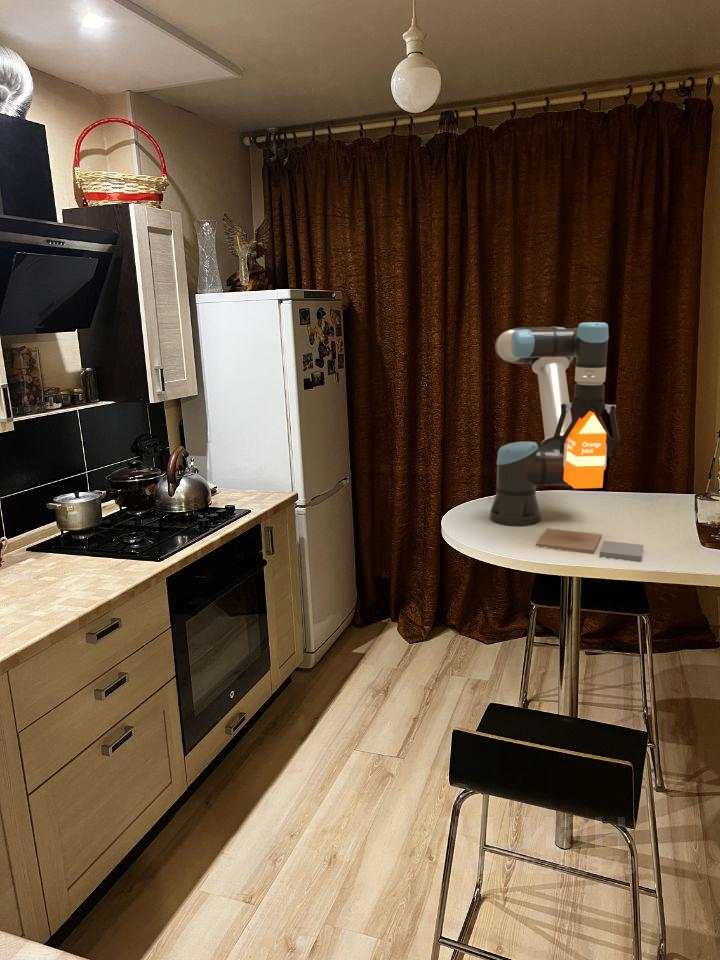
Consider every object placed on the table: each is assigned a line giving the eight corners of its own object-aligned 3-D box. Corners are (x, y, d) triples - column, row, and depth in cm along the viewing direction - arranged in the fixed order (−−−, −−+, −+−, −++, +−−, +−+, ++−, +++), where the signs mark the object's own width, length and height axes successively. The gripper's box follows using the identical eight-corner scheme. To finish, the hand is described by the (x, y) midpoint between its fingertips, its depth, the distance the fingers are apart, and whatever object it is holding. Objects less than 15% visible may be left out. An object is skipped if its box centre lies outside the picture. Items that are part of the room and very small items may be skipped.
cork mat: (535, 546, 196) (535, 543, 196) (546, 531, 209) (547, 528, 209) (593, 553, 190) (593, 550, 190) (601, 537, 203) (601, 534, 203)
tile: (603, 547, 196) (599, 559, 187) (603, 540, 196) (599, 551, 187) (643, 552, 192) (640, 563, 183) (643, 544, 192) (641, 556, 183)
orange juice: (574, 488, 191) (579, 413, 186) (562, 480, 200) (567, 407, 195) (603, 487, 192) (608, 412, 187) (590, 479, 200) (595, 407, 195)
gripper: (544, 383, 190) (540, 467, 195) (634, 386, 182) (627, 473, 187) (548, 380, 197) (544, 461, 202) (635, 382, 188) (628, 467, 194)
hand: (584, 467), depth 195 cm, fingers closed on orange juice, 9 cm apart
